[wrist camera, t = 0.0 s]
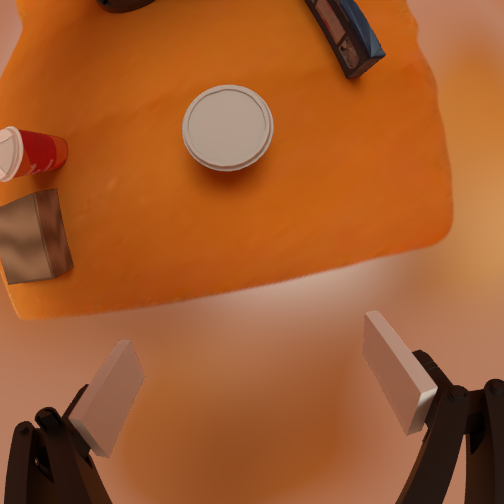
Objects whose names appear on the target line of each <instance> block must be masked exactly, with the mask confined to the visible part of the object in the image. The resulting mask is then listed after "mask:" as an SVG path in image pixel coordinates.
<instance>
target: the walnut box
mask: <svg viewBox="0 0 504 504" xmlns="http://www.w3.org/2000/svg"><path fill="white" fill-rule="evenodd" d="M0 257H1V261H2V265H3V268H4V272H5V275H6V278H7V281H8V285H10V284H18V283H25V282H33V281H40V280H48V279H55V278H57V277H58V276H60V275H61V274H63V273H64V272H66V271H68V270H69V269H71V268H72V267H74V266H73V262H72V259H71V255H70V251H69V247H68V243H67V239H66V235H65V230H64V226H63V221H62V216H61V211H60V206H59V200H58V194H57V189H51V190H45V191H39V192H35V193H32V194H30V195H27V196H25V197H22V198H20V199H17V200H15V201H13V202H10V203H8V204H6V205H4V206H1V207H0Z"/></svg>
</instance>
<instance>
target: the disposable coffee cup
mask: <svg viewBox="0 0 504 504" xmlns="http://www.w3.org/2000/svg"><path fill="white" fill-rule="evenodd" d="M182 134H183V139H184V143H185V146H186V147H187V149H188V151H189V153H190V154H191V155H192V156H193V158H194V159H196V160H197V161H198V162H199V163H201V164H202V165H204V166H206V167H208V168H211V169H214V170H218V171H233V170H239V169H242V168H244V167H247V166H249V165H251V164H252V163H254V162H256V161H257V160H258V159H259V158H260V157H261V156H262V155H263V154H264V152H265V151H266V150H267V148H268V146H269V144H270V142H271V139H272V135H273V118H272V114H271V112H270V109H269V107H268V106H267V104H266V103H265V101H264V100H263V99H262V98H261V97H260V96H259V95H258V94H256V93H255V92H253V91H252V90H250V89H247V88H245V87H242V86H237V85H221V86H217V87H213V88H211V89H208V90H206V91H205V92H203V93H202V94H200V95H199V96H198V97H197V98H196V99H194V101H193V102H192V103H191V104H190V106H189V107H188V109H187V111H186V113H185V116H184V119H183V125H182Z"/></svg>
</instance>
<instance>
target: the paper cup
mask: <svg viewBox="0 0 504 504" xmlns="http://www.w3.org/2000/svg"><path fill="white" fill-rule="evenodd" d="M67 154H68V147H67V144H66V142H65V141H64V140H63V139H62V138H59V137H55V136H51V135H46V134H41V133H35V132H30V131H24V130H18V129H17V128H15V127H13V126H9V127H6V128H5V129H3V130H0V181H2V182H6V181H9V180H11V179H12V178H15V177H20V176H24V175H29V174H35V173H40V172H45V171H50V170H55V169H58V168H60V167H61V166H62V165H63V164H64V163H65V161H66V158H67Z"/></svg>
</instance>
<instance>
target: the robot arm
mask: <svg viewBox="0 0 504 504" xmlns="http://www.w3.org/2000/svg"><path fill="white" fill-rule="evenodd" d="M96 1H97V2H98V4H99V5H100V6H102V7H103V8H104V9H105V10H107V11H109V12H114V13H122V12H128V11H132V10H135V9H138V8H141V7H143V6H145V5H147V4H149V3H151V2H153V1H154V0H96ZM364 322H365V323H364V339H363V355H364V356H365V358H366V360H367V362H368V364H369V366H370V367H371V369H372V371H373V373H374V375H375V376H376V378H377V380H378V382H379V384H380V386H381V387H382V390H383V392H384V393H385V395H386V397H387V399H388V401H389V403H390V405H391V407H392V409H393V411H394V412H395V414H396V417H397V418H398V420H399V422H400V424H401V426H402V428H403V430H404V432H405V434H406V436H407V435H410V434H413V433H416V432H418V431H421V430H422V427H423V425H424V423H426V425H427V427H428V430H427V432H426V434H425V436H424V439H423V441H422V442H423V443H422V446H421V449H420V451H419V454H418V456H417V459H416V461H415V464H414V466H413V468H412V470H411V473H410V475H409V477H408V479H407V481H406V484H405V486H404V488H403V490H402V492H401V494H400V496H399V498H398V500H397V501H396V503H395V504H442V503H443V500H444V498H445V495H446V492H447V489H448V487H449V484H450V481H451V478H452V475H453V471H454V468H455V465H456V462H457V458H458V454H459V451H460V446H461V443H462V439H463V435H465V434H466V489H465V502H464V504H504V381H503V380H500V379H491V380H489V381H488V382H487V383H486V384H485V386H484V389H481V390H475V391H468V390H467V389H465V388H464V387H462V386H459V385H453V384H452V383H451V382H450V381H449V379H448V378H447V377H446V375H445V374H444V373H443V372H442V370H441V369H440V368H439V367H438V365H437V364H436V363H435V362H434V361H433V359H432V358H431V357H430V356H429V355H428V354H427V353H425V352H423V351H422V350H417V351H414V352H411V351H410V350H409V348H408V347H407V346H406V345H405V343H404V342H403V341H402V340H401V338H400V337H399V336H398V335H397V333H396V332H395V331H394V330H393V329H392V327H391V326H390V325H389V324H388V322H387V321H386V320H385V319H384V318H383V316H382V315H381V314H380V313H379V311H378V310H376V311H370V312H366V313H365V321H364ZM144 378H145V374H144V372H143V370H142V367H141V365H140V362H139V360H138V357H137V355H136V352H135V350H134V347H133V345H132V342H131V340H119V341H118V343H117V344H116V346H115V347H114V349H113V350H112V351H111V353H110V354H109V356H108V357H107V359H106V360H105V362H104V363H103V365H102V366H101V368H100V369H99V371H98V372H97V374H96V375H95V377H94V378H93V380H92V381H91V383H90V384H86V385H85V386H84V387H82V388H81V389H80V390H79V391H78V393H77V395H76V396H75V398H74V399H73V401H72V403H70V405H69V407H68V408H67V410H66V411H65V413H64V414H63V416H62V417H60V415H59V414H58V412H57V411H56V409H54V408H52V407H46V408H43V409H41V410H40V411H39V412H38V413H37V414H36V416H35V421H36V422H37V424H38V425H39V426H40V428H35V427H34V426H33V425H32V423H30V422H29V421H24V422H21V423H19V424H18V425H17V426H16V427H15V430H14V433H13V438H12V443H11V449H10V454H9V461H8V467H7V475H6V485H5V496H4V497H5V498H4V504H112V502H111V500H110V498H109V496H108V494H107V492H106V490H105V488H104V485H103V483H102V481H101V479H100V476H99V474H98V472H97V470H96V467H95V465H94V462H93V460H92V457H91V456H90V455H89V451H90V449H92V450H93V452H94V453H95V454H96V455H97V456H102V457H106V458H110V455H111V453H112V451H113V448H114V446H115V443H116V441H117V439H118V436H119V434H120V432H121V429H122V427H123V425H124V422H125V420H126V418H127V415H128V413H129V411H130V408H131V406H132V404H133V402H134V400H135V397H136V395H137V393H138V391H139V389H140V386H141V384H142V382H143V380H144ZM35 459H36V461H37V463H36V461H35Z"/></svg>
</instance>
